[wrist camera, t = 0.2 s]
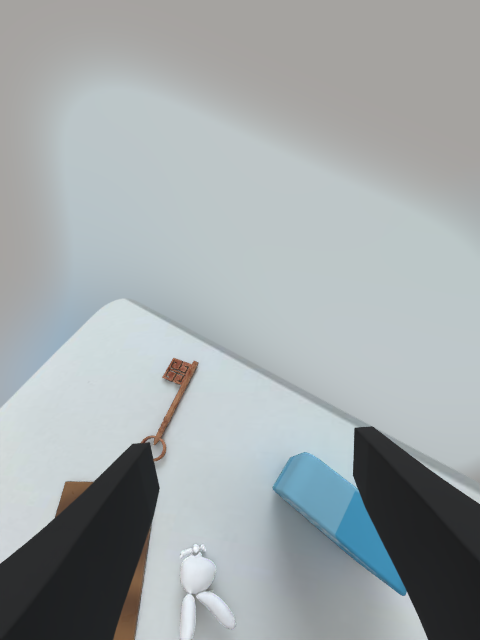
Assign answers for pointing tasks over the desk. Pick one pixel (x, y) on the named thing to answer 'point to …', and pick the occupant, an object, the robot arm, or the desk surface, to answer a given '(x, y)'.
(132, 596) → the brown wooden board
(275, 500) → the desk surface
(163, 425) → the key
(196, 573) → the rabbit figurine
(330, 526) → the data package
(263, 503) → the desk surface
